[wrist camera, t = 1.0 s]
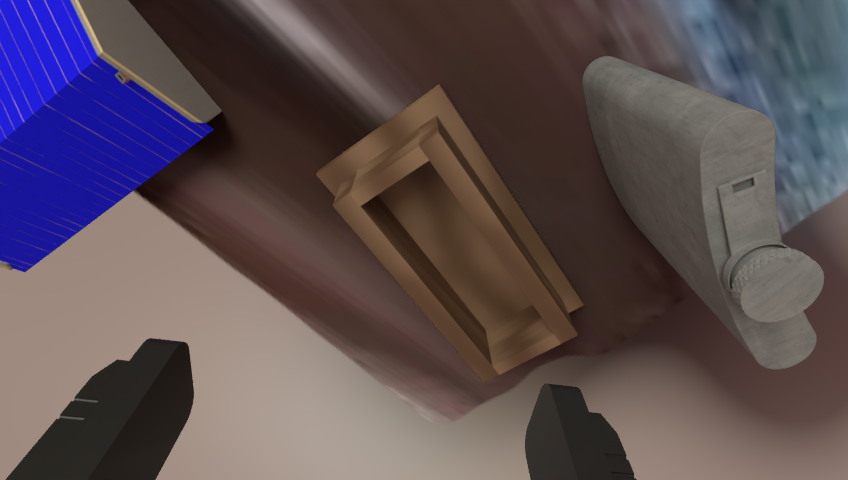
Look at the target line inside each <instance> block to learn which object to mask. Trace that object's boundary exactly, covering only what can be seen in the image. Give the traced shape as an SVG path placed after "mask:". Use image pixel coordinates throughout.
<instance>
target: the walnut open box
mask: <svg viewBox="0 0 848 480" xmlns="http://www.w3.org/2000/svg"><path fill="white" fill-rule="evenodd" d="M316 175H317V176H318V177H319V179H320V180H321V181H322V182H323V183H324V185H325V186H326V187H327V188H328V189H329V190H330V192H331V193H332V194H333V195H334V196H335V200H334V203H333V205H332V206H333V207H334V208H335V209H336V210H337V211H338V213H339V214H340V215H341V216H342V217H343V219H344V220H345V221H346V222H347V223H348V224H349V226H350V227H351V228H352V229H353V230H354V231H355V233H356V234H357V235H358V236H359V237H360V238H361V240H362V241H363V242H364V243H365V244H366V245H367V247H368V248H369V249H370V250H371V251H372V252H373V254H374V255H375V256H376V257H377V258H378V259H379V261H380V262H381V263H382V264H383V265H384V266H385V268H386V269H387V270H388V271H389V272H390V273H391V275H392V276H393V277H394V278H395V279H396V280H397V282H398V283H399V284H400V285H401V286H402V288H403V289H404V290H405V291H406V292H407V293H408V295H409V296H410V297H411V298H412V299H413V300H414V302H415V303H416V304H417V305H418V306H419V307H420V309H421V310H422V311H423V312H424V313H425V314H426V316H427V317H428V318H429V319H430V320H431V321H432V323H433V324H434V325H435V326H436V327H437V328H438V330H439V331H440V332H441V333H442V334H443V335H444V337H445V338H446V339H447V340H448V341H449V342H450V344H451V345H452V346H453V347H454V348H455V349H456V351H457V352H458V353H459V354H460V355H461V357H462V358H463V359H464V360H465V361H466V362H467V364H468V365H469V366H470V367H471V368H472V369H473V371H474V372H475V373H476V374H477V375H478V376H479V378H480V379H481V380H482V381H483V382H484V383H485V382H486V381H488V380H490V379H492V378H494V377H496V376H498V375H500V374H502V373H504V372H506V371H508V370H510V369H512V368H514V367H516V366H518V365H520V364H522V363H524V362H526V361H528V360H530V359H532V358H534V357H536V356H538V355H540V354H542V353H544V352H546V351H548V350H550V349H552V348H554V347H556V346H558V345H560V344H562V343H564V342H566V341H568V340H570V339H572V338H574V337H576V336H578V334H577V331H576V329H575V327H574V325H573V323H572V320H571V318H570V316H569V314H568V313H570V312H572V311H574V310H576V309H578V308H580V307H581V306H583V305H584V304H583V302H582V300H581V298H580V297H579V295H578V294H577V292H576V291H575V289H574V288H573V286H572V285H571V283H570V282H569V280H568V279H567V277H566V275H565V274H564V272H563V271H562V269H561V268H560V266H559V265H558V263H557V262H556V260H555V259H554V257H553V256H552V254H551V253H550V251H549V250H548V248H547V247H546V245H545V244H544V242H543V240H542V239H541V237H540V236H539V234H538V233H537V231H536V230H535V228H534V227H533V225H532V224H531V222H530V221H529V219H528V218H527V216H526V215H525V213H524V212H523V210H522V209H521V207H520V205H519V204H518V202H517V201H516V199H515V198H514V196H513V195H512V193H511V192H510V190H509V189H508V187H507V186H506V184H505V183H504V181H503V180H502V178H501V177H500V175H499V174H498V172H497V170H496V169H495V167H494V166H493V164H492V163H491V161H490V160H489V158H488V157H487V155H486V154H485V152H484V151H483V149H482V148H481V146H480V145H479V143H478V142H477V140H476V139H475V137H474V135H473V134H472V132H471V131H470V129H469V128H468V126H467V125H466V123H465V122H464V120H463V119H462V117H461V116H460V114H459V113H458V111H457V110H456V108H455V107H454V105H453V103H452V102H451V100H450V99H449V97H448V96H447V94H446V93H445V91H444V90H443V88H442V87H441V85H440V84H439V85H437V86H436V87H435V88H433V89H432V90H430V91H429V92H428V93H426V94H425V95H423V96H422V97H421V98H419V99H418V100H416V101H415V102H414V103H412V104H411V105H409V106H408V107H407V108H405V109H404V110H402V111H401V112H399V113H398V114H397V115H395V116H394V117H392V118H391V119H390V120H388V121H387V122H385V123H384V124H383V125H381V126H380V127H378V128H377V129H376V130H374V131H373V132H371V133H370V134H369V135H367V136H366V137H364V138H363V139H362V140H360V141H359V142H357V143H356V144H355V145H353V146H352V147H350V148H349V149H348V150H346V151H345V152H343V153H342V154H341V155H339V156H338V157H336V158H335V159H334V160H332V161H331V162H329V163H328V164H327V165H325V166H324V167H322V168H321V169H319V170H318V172H317V174H316Z"/></svg>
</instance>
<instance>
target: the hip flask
mask: <svg viewBox="0 0 848 480" xmlns="http://www.w3.org/2000/svg"><path fill="white" fill-rule="evenodd" d="M583 90H584V97H585V103H586V109H587V114H588V118H589V123H590V127H591V130H592V134H593V138H594V141H595V144H596V147H597V150H598V153H599V156H600V159H601V161H602V164H603V167H604V169H605V172H606V174H607V177H608V179H609V181H610V183H611V186H612V188H613V189H614V191H615V193H616V195H617V197H618V199H619V201H620V203H621V204H622V206H623V208H624V209H625V211H626V212H627V214H628V216H629V217H630V218H631V220H632V221H633V223H634V224H635V225H636V226H637V228H638V229H639V230H640V231H641V232H642V233H643V234H644V235H645V237H646V238H647V239H648V240H649V241H650V242H651V243H652V244H653V246H654V247H655V248H656V249H657V250H658V251H659V252H660V253H661V254H662V256H663V257H664V258H665V259H666V260H667V261H668V262H669V263H670V265H671V266H672V267H673V268H674V269H675V270H676V271H677V272H678V273H679V275H680V276H681V277H682V278H683V279H684V280H685V281H686V282H687V284H688V285H689V286H690V287H691V288H692V289H693V290H694V291H695V293H696V294H697V295H698V296H699V297H700V298H701V299H702V300H703V301H704V303H705V304H706V305H707V306H708V307H709V308H710V309H711V310H712V311H713V313H714V314H715V315H716V316H717V317H718V318H719V319H720V320H721V322H722V323H723V324H724V325H725V326H726V327H727V328H728V329H729V331H730V332H731V333H732V334H733V335H734V336H735V337H736V338H737V340H738V341H739V342H740V343H741V344H742V345H743V346H744V347H745V348H746V350H747V351H748V352H749V353H750V354H751V355H752V356H753V357H754V359H755V360H756V361H757V362H758V363H759V364H760V365H761V366H763V367H765V368H768V369H784V368H788V367H791V366H793V365H796V364H798V363H799V362H801V361H803V360H804V359H805V358H806V357H808V355H809V354H810V353H811V352H812V351H813V349H814V347H815V345H816V334H815V332H814V330H813V328H812V327H811V325H810V323H809V321H808V320H807V318H806V316H805V314H804V312H803V310H805V309H806V308H808V306H809V305H810V304H812V303H813V302H814V300H815V299H816V298H817V297H818V295H819V293H820V292H821V290H822V286H823V284H824V282H823V280H824V275H823V270H822V269H821V266H820V265H818V264H817V262H816V261H814V260H812V259H811V258H810V257H809V256H807V255H804V253H803V252H800V251H798V250H796V249H791V248H790V247H788V246H786V245H784V244H783V243H782V240H781V235H780V229H779V223H778V216H777V206H776V195H775V141H776V133H775V128H774V124H773V123H772V121H771V120H770V119H769V118H768V117H767V116H766V115H765V114H763V113H761V112H759V111H756V110H753V109H751V108H748V107H745V106H743V105H740V104H737V103H735V102H732V101H729V100H727V99H724V98H721V97H719V96H716V95H713V94H711V93H708V92H705V91H703V90H700V89H697V88H695V87H692V86H689V85H687V84H684V83H681V82H679V81H676V80H673V79H671V78H668V77H665V76H663V75H660V74H657V73H655V72H652V71H649V70H647V69H644V68H641V67H639V66H636V65H633V64H631V63H628V62H625V61H623V60H620V59H618V58H615V57H611V56H604V57H600V58H597V59H596V60H594V61H593V62H592V63H591V64H590V65H589V66H588V67H587V69H586V70H585V72H584V75H583ZM783 246H784V247H785V248H784V247H783Z"/></svg>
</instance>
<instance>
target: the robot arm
mask: <svg viewBox="0 0 848 480" xmlns="http://www.w3.org/2000/svg"><path fill="white" fill-rule="evenodd" d="M193 398H194V389H193V380H192V371H191V362H190V353H189V347H188V345H187V343H185V342H179V341H170V340H161V339H152V338H150V339H147V340H146V341H145V342H144V343H143V344H142V345H141V347H140V348H139V349H138V350H137V352H136V353H135V354H134V356H133V357H132V358H131V360H130V361H124V360H116V361H115V362H113V363H112V364H110V365H109V366H107V367H106V368H104V369H103V370H101V371H100V372H98V373H97V374H95V375H94V376H92V377H91V378H90V380H89V381H88V382H87V383H86V385H85V386H84V387H83V388H82V389H81V390H80V392H79V393H78V394H77V395H76V396H75V400H74V401H71V402H70V403H69V405H68V406H67V407H66V408H65V409H64V411H63V412H62V413H61V414H60V418H59V419H56V420H55V422H54V423H53V424H52V425H51V426H50V427H49V429H48V430H47V431H46V432H45V433H44V435H43V436H42V437H41V438H40V439H39V440H38V442H37V443H36V444H35V445H34V446H33V448H32V449H31V450H30V451H29V452H28V454H27V455H26V456H25V457H24V458H23V460H22V461H21V462H20V463H19V464H18V466H17V467H16V468H15V469H14V470H13V471H12V473H11V474H10V475H9V476H8V477H7V479H6V480H155V479H156V477H157V476H158V474H159V472H160V470H161V468H162V466H163V464H164V462H165V461H166V459H167V457H168V455H169V453H170V452H171V449H172V448H173V446H174V444H175V442H176V440H177V439H178V437H179V435H180V433H181V431H182V429H183V427H184V426H185V424H186V422H187V420H188V418H189V415H190V412H191V408H192V404H193ZM525 452H526V459H527V464H528V469H529V473H530V478H531V480H636V479H634V473H633V470H632V468H631V465H630V463H629V461H628V460H627V459H626V453H625V451H624V448H623V446H622V444H621V441H620V439H619V437H618V434H617V433H616V431H615V430H614V429H613V428H612V427H611V426H610V424H609V423H608V422H607V421H606V420H605V418H604V417H603V416H602V415H601V414H599V413H591V412H589V411H588V408H587V406H586V403H585V400H584V398H583V395H582V393H581V391H580V389H579V388H577V387H571V386H562V385H552V384H544V385H543V386H542V388H541V390H540V394H539V396H538V399H537V402H536V405H535V407H534V410H533V413H532V416H531V419H530V422H529V424H528V427H527V431H526V439H525Z"/></svg>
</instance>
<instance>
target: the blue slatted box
mask: <svg viewBox="0 0 848 480" xmlns="http://www.w3.org/2000/svg"><path fill="white" fill-rule="evenodd" d="M220 112H222V110H221V109H220V108H219V107H218V106H217V105H216V103H215V102H214V101H213V100H212V99H211V98H210V96H209V95H208V94H207V93H206V92H205V90H204V89H203V88H202V87H201V86H200V85H199V83H198V82H197V81H196V80H195V79H194V77H193V76H192V75H191V74H190V73H189V72H188V70H187V69H186V68H185V67H184V66H183V65H182V63H181V62H180V61H179V60H178V59H177V57H176V56H175V55H174V54H173V53H172V52H171V50H170V49H169V48H168V47H167V46H166V45H165V43H164V42H163V41H162V40H161V39H160V37H159V36H158V35H157V34H156V33H155V32H154V30H153V29H152V28H151V27H150V26H149V24H148V23H147V22H146V21H145V20H144V19H143V17H142V16H141V15H140V14H139V13H138V12H137V10H136V9H135V8H134V7H133V6H132V4H131V3H130V2H129V1H128V0H0V267H3V268H6V269H9V270H12V269H13V268H14V269H17V270H20V271H23V272H26V271H27V270H28V269H30V268H31V267H32V266H34V265H35V264H36V263H38V262H39V261H40V260H42V259H43V258H44V257H46V256H47V255H48V254H50V253H51V252H52V251H54V250H55V249H56V248H58V247H59V246H60V245H62V244H63V243H64V242H66V241H67V240H68V239H70V238H71V237H72V236H73V235H75V234H76V233H78V232H79V231H80V230H82V229H83V228H84V227H86V226H87V225H88V224H90V223H91V222H92V221H93V220H95V219H96V218H97V217H99V216H100V215H101V214H103V213H104V212H105V211H106V210H108V209H109V208H111V207H112V206H113V205H115V204H116V203H117V202H119V201H120V200H121V199H123V198H124V197H125V196H127V195H128V194H129V193H131V192H132V191H133V190H135V189H136V188H137V187H139V186H140V185H141V184H143V183H144V182H145V181H147V180H148V179H149V178H151V177H152V176H153V175H154V174H156V173H157V172H158V171H160V170H161V169H162V168H164V167H165V166H166V165H168V164H169V163H170V162H172V161H173V160H174V159H176V158H177V157H178V156H180V155H181V154H182V153H184V152H185V151H186V150H188V149H189V148H190V147H192V146H193V145H194V144H196V143H197V142H198V141H200V140H201V139H202V138H204V137H205V136H206V135H208V134H209V133H210V132H212V131H213V130H214V129H213V128H211V127H210V126H208V125H207V124H206V123H207V122H209V121H210V120H211V119H213V118H214V117H215V116H216V115H218V114H219V113H220Z"/></svg>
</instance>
